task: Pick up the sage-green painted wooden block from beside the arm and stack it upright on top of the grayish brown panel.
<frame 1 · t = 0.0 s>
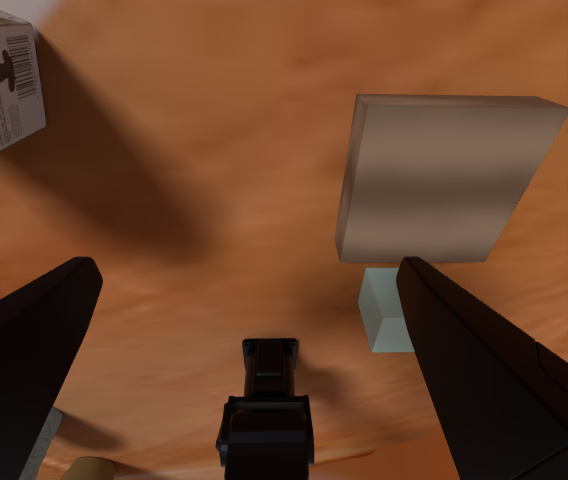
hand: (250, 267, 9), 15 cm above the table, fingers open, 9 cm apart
plant pot: (94, 461, 61), on the table
drinking glass: (33, 411, 47), on the table
grayish brown panel: (420, 178, 23), on the table
sage block: (385, 285, 31), on the table
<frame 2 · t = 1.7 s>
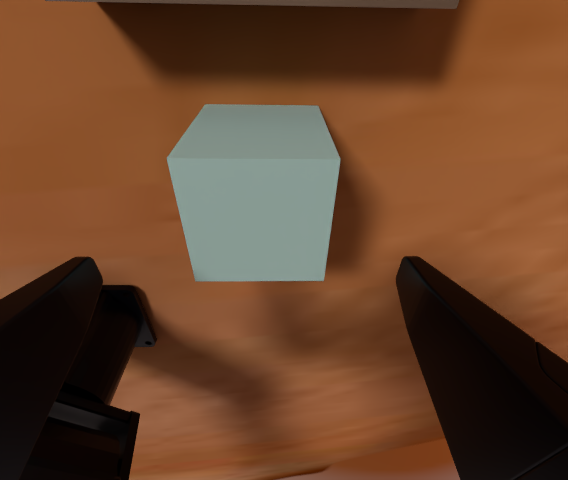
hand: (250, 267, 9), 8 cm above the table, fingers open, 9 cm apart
sage block: (263, 158, 15), on the table
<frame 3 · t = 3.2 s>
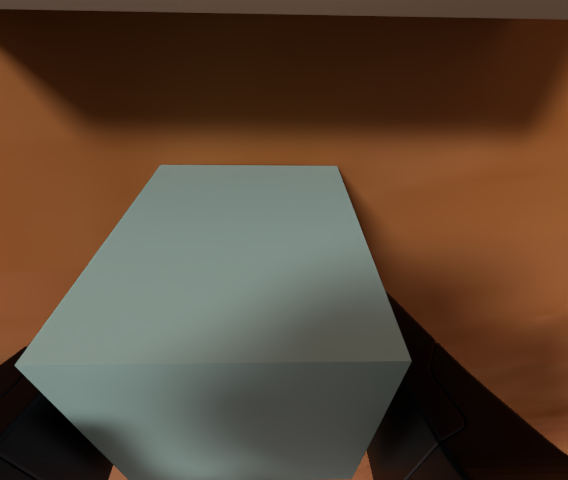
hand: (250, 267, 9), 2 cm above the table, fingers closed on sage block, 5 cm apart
sage block: (253, 235, 10), on the table, touching gripper
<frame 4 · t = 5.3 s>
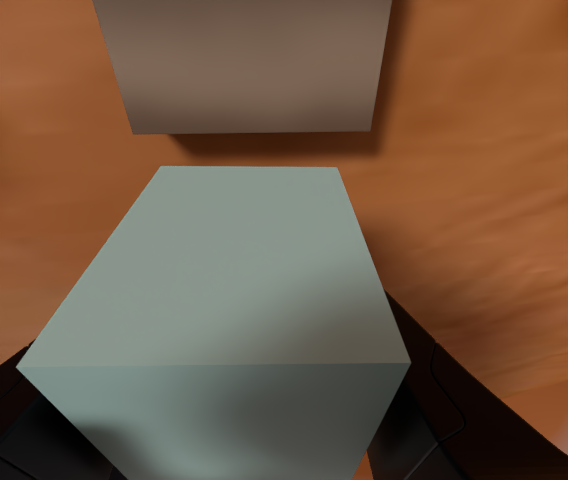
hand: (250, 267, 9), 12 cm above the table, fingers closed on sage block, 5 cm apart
sage block: (253, 236, 10), point 10 cm above the table, touching gripper
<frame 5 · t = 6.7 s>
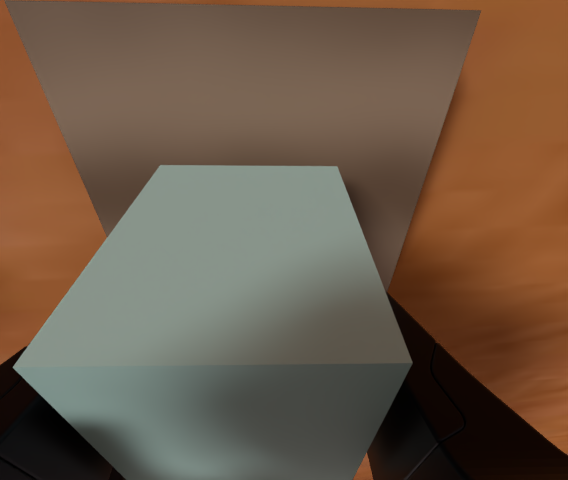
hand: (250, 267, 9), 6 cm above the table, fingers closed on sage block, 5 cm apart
grayish brown panel: (260, 173, 14), on the table
sage block: (253, 236, 10), point 5 cm above the table, touching gripper
when the fingers open (5 cm above the table, at t = 7.6 s): sage block stays where it is, resting on grayish brown panel.
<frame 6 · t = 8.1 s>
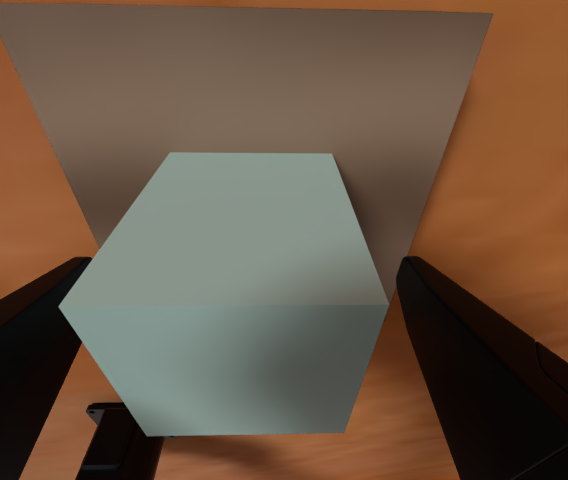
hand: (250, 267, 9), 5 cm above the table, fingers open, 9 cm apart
grayish brown panel: (259, 180, 13), on the table
sage block: (255, 220, 11), point 3 cm above the table, touching grayish brown panel
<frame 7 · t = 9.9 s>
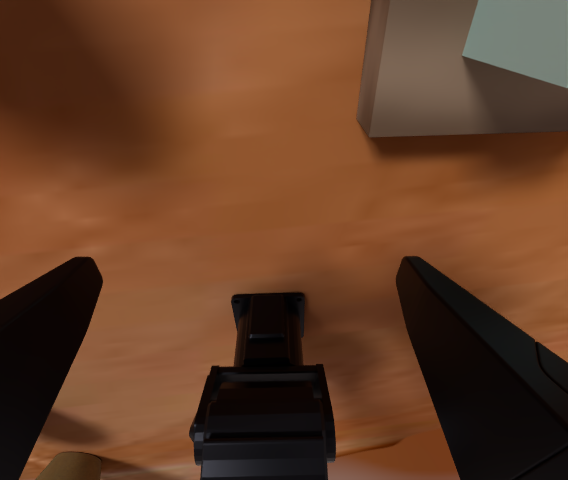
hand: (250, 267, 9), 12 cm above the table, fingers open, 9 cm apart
plant pot: (78, 456, 53), on the table
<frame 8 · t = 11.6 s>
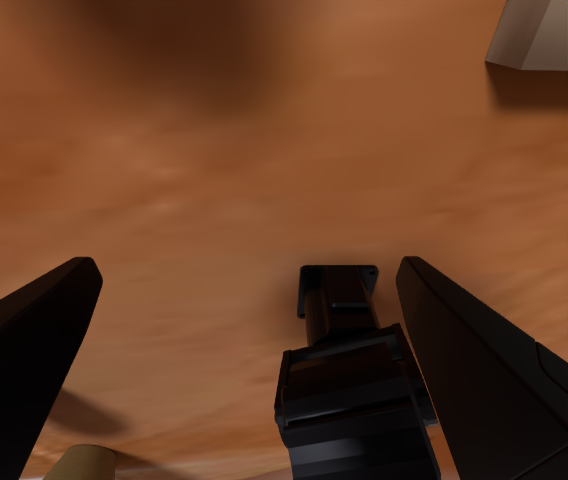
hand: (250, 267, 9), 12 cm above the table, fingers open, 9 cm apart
plant pot: (91, 450, 50), on the table
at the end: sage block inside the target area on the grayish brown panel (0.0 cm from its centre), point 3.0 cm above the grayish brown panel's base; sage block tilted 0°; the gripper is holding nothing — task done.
